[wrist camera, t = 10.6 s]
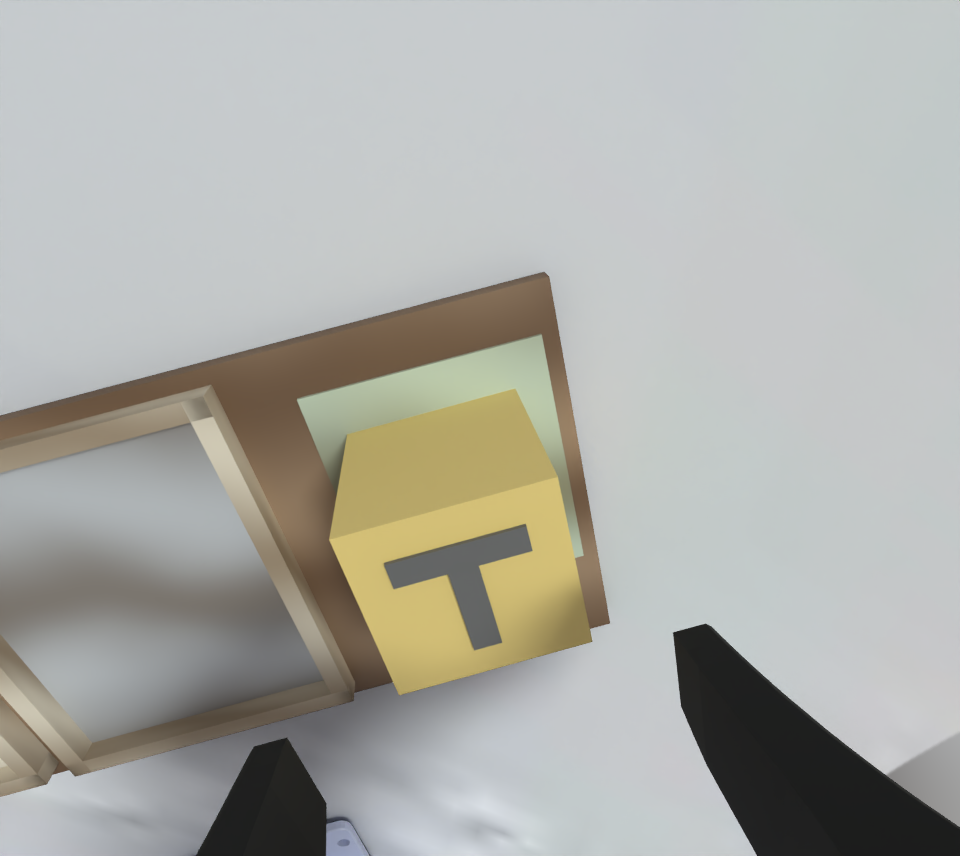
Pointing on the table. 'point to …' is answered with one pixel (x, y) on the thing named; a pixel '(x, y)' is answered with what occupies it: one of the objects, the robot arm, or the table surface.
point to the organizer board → (232, 528)
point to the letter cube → (457, 542)
